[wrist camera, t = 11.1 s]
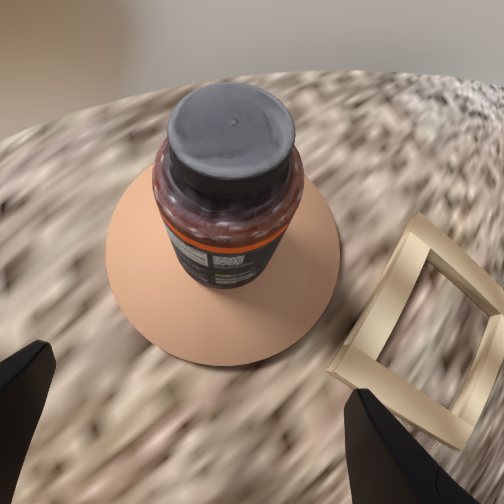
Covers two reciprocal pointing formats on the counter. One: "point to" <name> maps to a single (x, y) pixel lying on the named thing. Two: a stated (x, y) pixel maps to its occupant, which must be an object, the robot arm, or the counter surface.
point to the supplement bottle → (227, 181)
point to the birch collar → (386, 315)
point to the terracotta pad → (220, 300)
